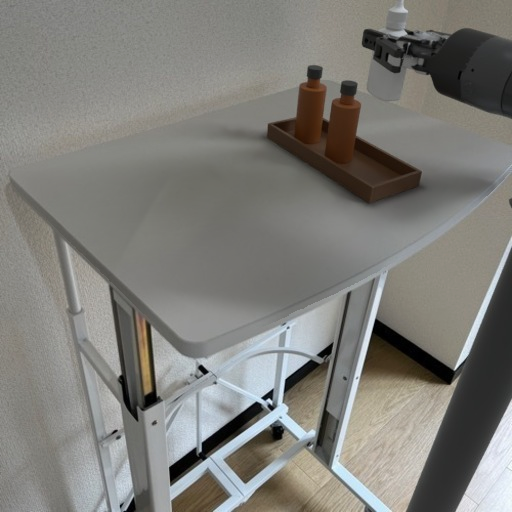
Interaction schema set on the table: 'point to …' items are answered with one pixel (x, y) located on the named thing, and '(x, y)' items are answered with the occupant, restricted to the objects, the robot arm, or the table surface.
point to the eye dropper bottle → (379, 77)
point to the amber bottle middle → (343, 124)
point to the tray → (350, 163)
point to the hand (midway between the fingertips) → (376, 35)
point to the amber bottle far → (310, 107)
